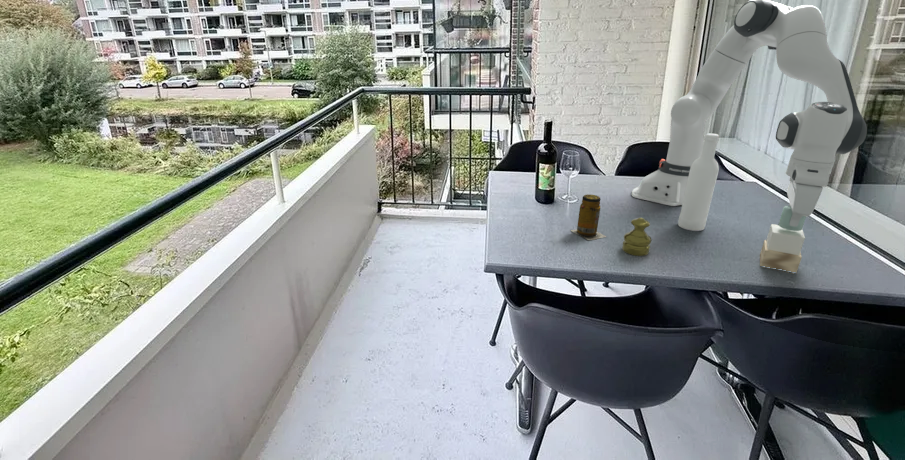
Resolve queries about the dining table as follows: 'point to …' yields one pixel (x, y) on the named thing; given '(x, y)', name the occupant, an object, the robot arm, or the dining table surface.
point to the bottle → (700, 187)
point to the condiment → (589, 218)
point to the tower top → (785, 240)
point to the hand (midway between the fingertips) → (791, 221)
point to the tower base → (779, 259)
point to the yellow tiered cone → (637, 238)
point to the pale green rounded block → (786, 218)
